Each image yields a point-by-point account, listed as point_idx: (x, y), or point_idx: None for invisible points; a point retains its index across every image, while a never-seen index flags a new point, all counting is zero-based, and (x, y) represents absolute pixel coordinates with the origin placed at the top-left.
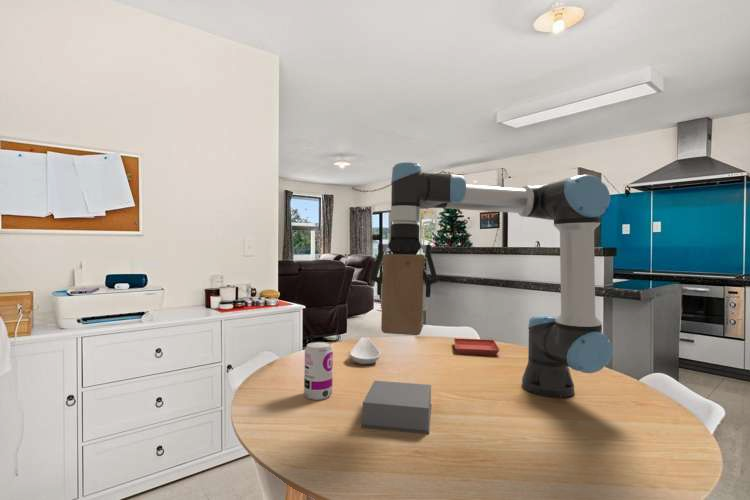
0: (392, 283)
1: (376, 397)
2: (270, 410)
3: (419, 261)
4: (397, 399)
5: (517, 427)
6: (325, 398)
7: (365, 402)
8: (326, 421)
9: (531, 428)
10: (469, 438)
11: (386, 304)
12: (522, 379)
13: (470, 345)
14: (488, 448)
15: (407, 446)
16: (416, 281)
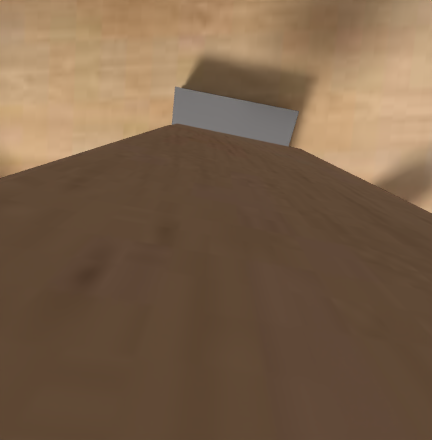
0: (413, 232)
1: (270, 137)
2: (427, 167)
3: None
4: (231, 130)
5: (39, 119)
6: None
7: (293, 111)
8: (342, 129)
9: (17, 117)
10: (116, 74)
11: (343, 173)
12: None
13: None
14: (87, 36)
15: (218, 38)
16: (45, 179)
